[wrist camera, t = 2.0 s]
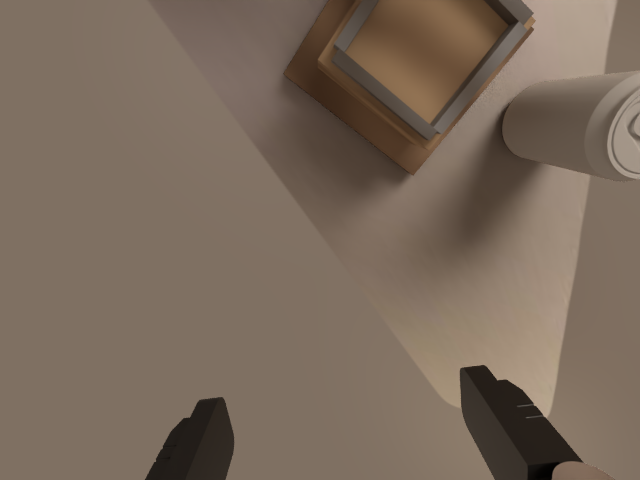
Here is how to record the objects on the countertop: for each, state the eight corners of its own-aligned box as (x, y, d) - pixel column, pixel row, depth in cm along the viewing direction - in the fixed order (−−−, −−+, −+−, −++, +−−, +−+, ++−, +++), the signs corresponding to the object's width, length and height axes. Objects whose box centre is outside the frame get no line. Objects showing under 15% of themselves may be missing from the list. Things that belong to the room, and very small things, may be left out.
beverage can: (537, 170, 31) (657, 204, 20) (482, 136, 30) (578, 153, 19) (586, 105, 29) (750, 104, 18) (530, 67, 28) (668, 40, 17)
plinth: (392, -99, 24) (423, -185, 17) (523, 33, 27) (595, 7, 20) (285, 75, 28) (273, 65, 21) (408, 172, 31) (435, 192, 24)
